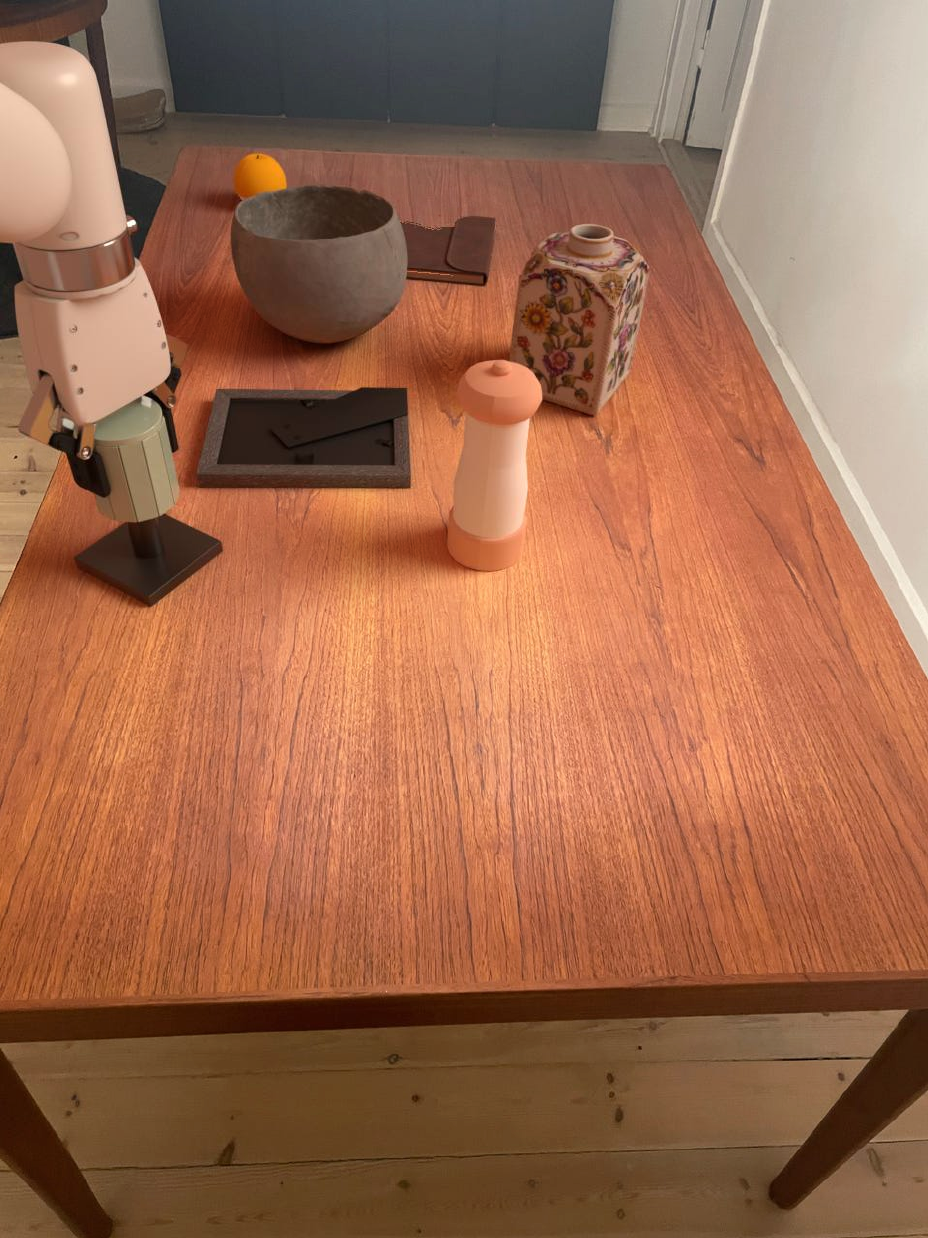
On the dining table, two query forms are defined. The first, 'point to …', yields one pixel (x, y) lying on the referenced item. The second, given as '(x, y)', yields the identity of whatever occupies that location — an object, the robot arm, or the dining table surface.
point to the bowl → (319, 260)
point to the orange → (258, 175)
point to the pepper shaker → (492, 465)
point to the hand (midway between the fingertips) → (129, 466)
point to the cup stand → (149, 556)
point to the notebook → (451, 251)
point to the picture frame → (307, 439)
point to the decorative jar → (579, 315)
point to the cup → (136, 462)
